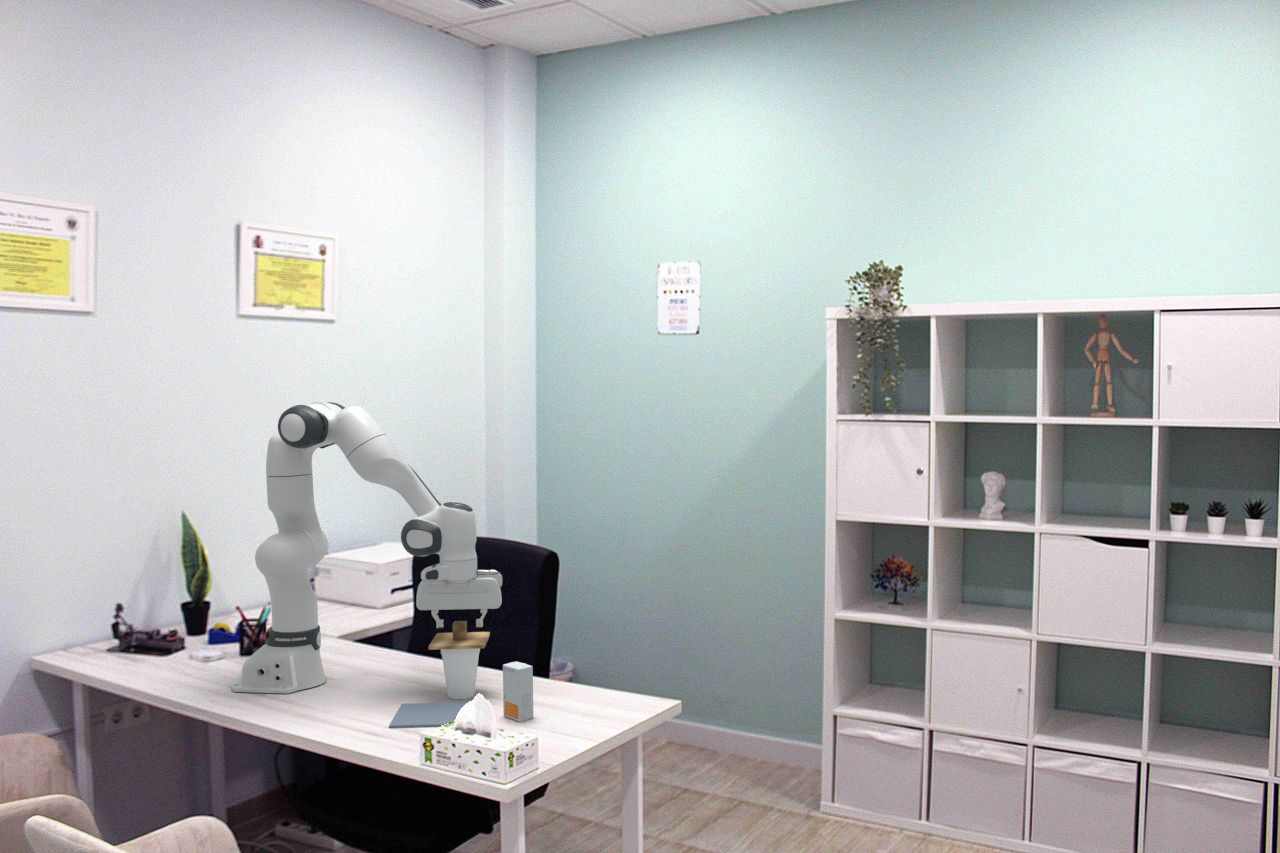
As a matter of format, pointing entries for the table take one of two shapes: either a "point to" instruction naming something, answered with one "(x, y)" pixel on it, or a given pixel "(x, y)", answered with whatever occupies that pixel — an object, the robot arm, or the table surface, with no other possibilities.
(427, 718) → the slate mat
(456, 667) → the foam cup
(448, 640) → the oak lid
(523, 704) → the skincare box
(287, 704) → the table surface
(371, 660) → the table surface
